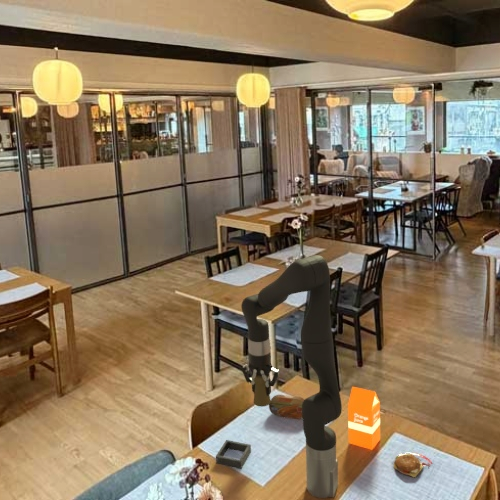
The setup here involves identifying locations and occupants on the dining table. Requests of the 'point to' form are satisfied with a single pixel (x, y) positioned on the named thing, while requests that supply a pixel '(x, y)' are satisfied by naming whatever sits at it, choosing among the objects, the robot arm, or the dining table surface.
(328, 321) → the robot arm
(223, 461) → the steel collar
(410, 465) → the hamburger
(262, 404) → the cork
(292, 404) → the tin
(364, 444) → the orange juice
